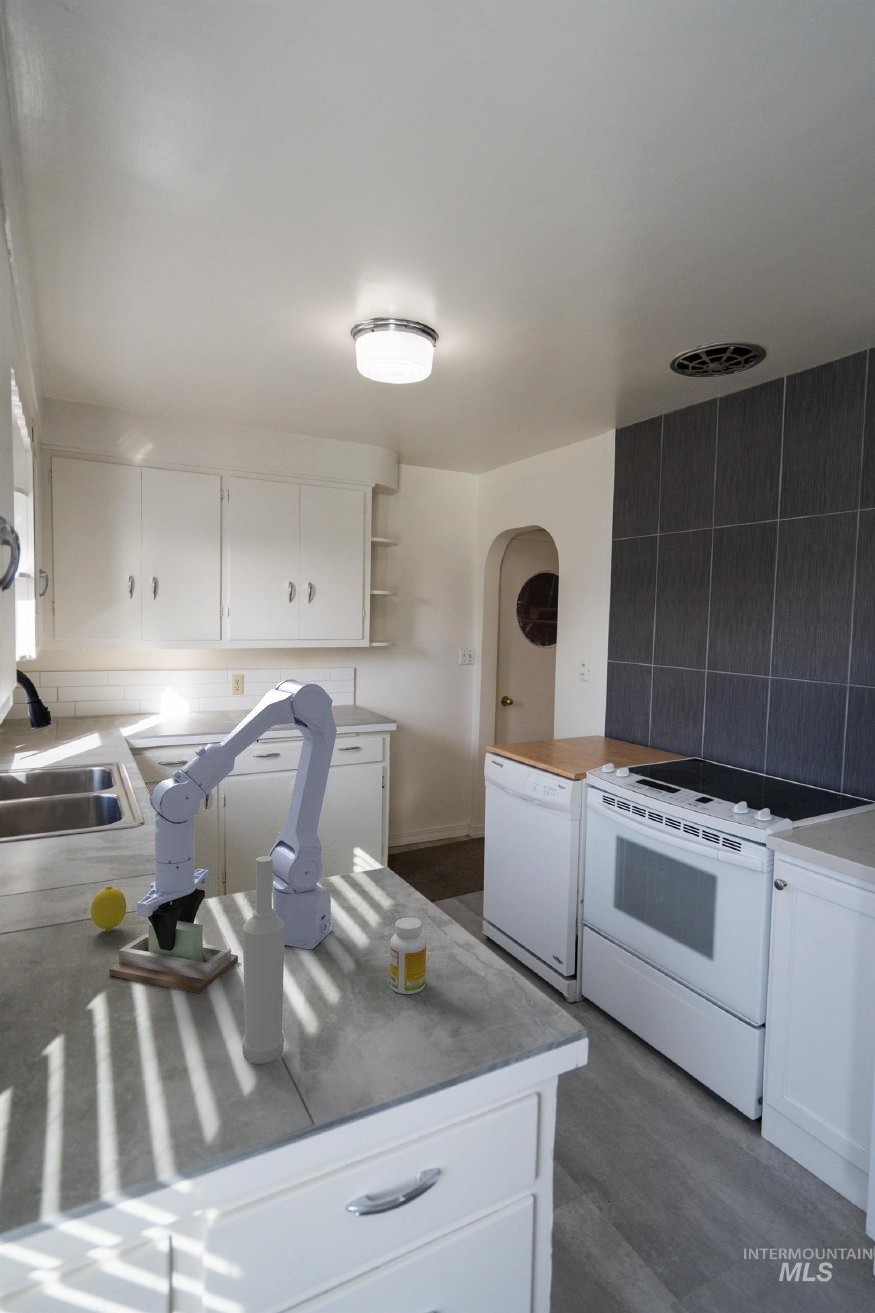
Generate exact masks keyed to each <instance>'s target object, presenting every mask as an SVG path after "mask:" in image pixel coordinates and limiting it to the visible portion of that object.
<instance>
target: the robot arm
mask: <svg viewBox="0 0 875 1313" xmlns="http://www.w3.org/2000/svg"><path fill="white" fill-rule="evenodd" d="M332 705H333V699H332V697H331V696H330V695H329V694H328V693H327V692H326V691H325V689H324V688H323V687H322V686H321V685H318V684H316V683H307V682H301V681H297V680H296V679H285V680H282V681H281V682H279V683H278V684H277V685H276V686H275V688H274V689H271V690H270V691H268V692H267V693H266V694H265V695H264V696H263V698H262V699H261V700H260V702H259V703H258V704H257V705H256V706H255V707H254V709H252V710H251V711H250V712H249V713H248V714H247V715H246V716H245V717H244V718H243V719H242V721H240V723H238V725H237V726H236V727H234V728H233V729H232V730H231V732H230V733H229V734H228V735H227V736H226V737H225V738H224V739H223V740H222V741H221V742H219V743H207V744H206V745H205V746H204V747H203V746H198V748H196V750H194V753H195V754H196V755H194V756H193V757H192V758H191V759H190V760H189V761H187V763H186V764H184V765H183V767H181V768H180V769H179V770H174V771H173V772H172V773H171V774H170V775H171V778H167V779H164V780H162V781H160V782H159V783H158V784H157V785H156V786H155V787H154V789H153V793H152V794H151V796H150V797H149V803H150V806H151V808H152V809H153V810H154V811H155V812H156V813H155V829H154V871H155V872H154V874H155V875H154V881H152V882H151V883H150V885H149V888H150V891H149V892H148V893H146V895H145V896H144V897H143V898H142V899H141V900H139V901H137V902H136V915H137V916H140V917H145V918H147V919H148V921H149V923H151V924H152V926H153V929H154V931H155V934H156V937H157V940H158V944H159V947H160V949H162V950H168V951H171V950H173V949H174V945H175V936H176V926H177V922H178V921H182V922H188V923H194V924H195V919H196V917H197V913H198V912H199V908H200V906H201V904H202V902H203V900H204V899H205V897H206V891H205V890H204V889H198V886H199V885H201V884H204V885H205V884H207V883H208V882H209V880H210V879H209V877H210V875H209V874H210V871H209V869H202V868H197V869H196V870H195V816H196V815H197V814H198V812H199V810H200V807H201V802H202V800H203V799H204V798H205V797H206V796H207V795H208V794H209V793H210V792H211V791H213V790H214V789H215V788H216V787H217V786H218V785H219V784H220V783H221V782H222V781H223V780H224V779H225V778H226V777H227V776H228V775H229V774H230V773H232V772H233V771H234V769H235V764H236V763H235V762H236V761H235V760H236V758H237V757H238V756H240V754H241V753H242V752H244V751H245V750H246V749H247V748H248V747H250V746H251V745H252V744H253V743H254V742H256V741H257V740H258V739H260V737H262V736H263V735H264V734H265V733H266V732H268V730H270V729H271V728H272V727H274V726H281V725H289V724H294V726H295V728H297V729H298V731H299V732H300V733H301V735H302V736H303V739H302V740H303V741H302V746H301V750H300V755H299V760H298V766H297V770H296V774H295V775H296V776H295V780H294V783H293V789H292V794H291V797H290V802H289V803H290V805H289V808H288V814H287V818H286V824H285V826H284V827H283V828H282V829H280V831H278V833H277V836H276V840H275V843H274V845H273V846H272V847H271V849H270V850H269V852H268V855H267V856H270V857H272V858H273V869H272V874H273V881H272V909H273V910H275V915H277V916H278V917H279V918H281V919H282V920H283V921H284V923H285V936H284V946H289V947H295V948H300V949H305V950H306V949H307V950H313V949H314V948H315V947H317V946H318V944H319V943H321V942H322V941H323V939H325V938H326V937H327V936H328V935H329V934H330V933H331V932H332V931H333V927H332V926H331V921H332V920H331V917H332V916H331V913H332V912H331V910H332V909H331V902H332V901H331V900H332V899H331V897H332V896H331V892H330V891H329V890H328V889H327V888H324V887H322V886H320V885H319V884H318V883H319V881H320V880H321V878H322V875H323V870H324V868H323V863H322V856H321V855H322V851H323V850H322V849H323V846H322V844H321V841H320V839H319V838H320V837H319V835H318V827H319V822H320V817H321V812H322V806H323V802H324V797H325V792H326V788H327V783H328V778H329V772H330V768H331V763H332V758H333V753H334V748H335V743H336V737H337V731H338V730H337V725H336V722H335V718H334V714H333V710H332Z"/></svg>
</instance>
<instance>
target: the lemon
mask: <svg viewBox="0 0 875 1313" xmlns="http://www.w3.org/2000/svg"><path fill="white" fill-rule="evenodd" d="M126 912H127V902H126V896H125V894H124V893H123V892H122V890H120V888H117V887H115V886H112V885H106V886H105V887H104V888H102V889H100V890H99V891H98V892H97V893H96V894H95V895H94V897H93V900H92V902H91V908H90V916H91V920H92V922H93V924H94V925H95V926H97V928H99V929H101V930H105V931H106V932H110V931H112V930H113V929H114V928H116V927H117V926H119V925H120V924H121V923H122V921H123V920H124V918H125V916H126Z"/></svg>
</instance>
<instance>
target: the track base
mask: <svg viewBox="0 0 875 1313" xmlns="http://www.w3.org/2000/svg"><path fill="white" fill-rule="evenodd" d="M238 962H239V955H237V954H232V948H228V947H223V946H216V945H212V944H207V943H203V962H199V961H194V960H188V959H183V958H178V957H173V956H167V955H162V954H157V953H151V952H149V933H143V935H140V937H138V938H136V939H134V940H133V941H131V942H130V943H128V944H127V945H124V946H123V947H122V948H120V949H119V950H118V963H116V964H115V965H113V966H112V967H110V968H109V971H108V972H109V973H108V974H109V976H112V977H118V978H121V979H127V980H131V981H135V982H141V983H146V984H151V985H155V986H161V987H165V988H170V989H176V990H181V991H185V992H191V993H194V994H201V993H202V992H203V991H205V989H207V987H209V986H211V984H212V983H214V982H215V981H217V979H219V978H220V977H221V976H222V975H224V973H225V974H226V972H227V971H228V970H230V969H231V968H232V967H233V966H234V965H236V964H237V963H238Z"/></svg>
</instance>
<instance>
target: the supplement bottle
mask: <svg viewBox="0 0 875 1313" xmlns="http://www.w3.org/2000/svg"><path fill="white" fill-rule="evenodd" d="M422 925H423V923H422V921H421V920H420V919H418V918H417V917H402V918H399V919H397V920H396V921H395V923H394V927H395V928H394V932H395V933H394V934H393V936H391V938H390V945H389V946H390V947H389V948H390V950H389V951H390V953H389V986H390V988H391V989H392V990H393V992H396V993H398V994H402V995H410V994H417V993H419V992H421V991H423V989H425V986H426V976H427V975H426V970H427V966H426V965H427V941H426V936H424V935H423V934H422V929H423V926H422Z"/></svg>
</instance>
